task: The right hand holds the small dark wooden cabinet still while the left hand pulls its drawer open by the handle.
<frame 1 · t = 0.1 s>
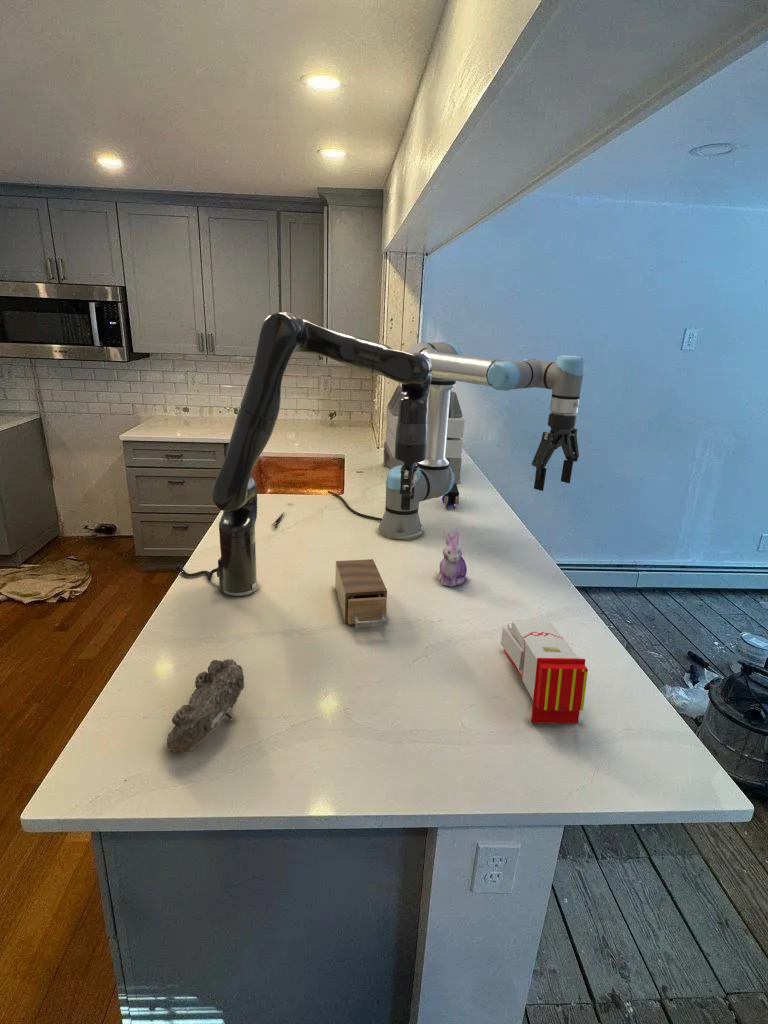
left hand: (407, 504, 141), 29 cm above the counter, tool pointing down, fingers open, 8 cm apart
right hand: (552, 485, 166), 28 cm above the counter, tool pointing down, fingers open, 13 cm apart
feather: (282, 516, 211), on the counter
fossil: (212, 717, 108), on the counter
cabinet: (359, 603, 152), on the counter
figurine character: (449, 504, 232), on the counter
figurine: (452, 580, 167), on the counter
toy: (534, 680, 123), on the counter
drawer: (363, 599, 145), point 4 cm above the counter, slide at 1.3 cm
white slatted crate: (419, 473, 275), on the counter
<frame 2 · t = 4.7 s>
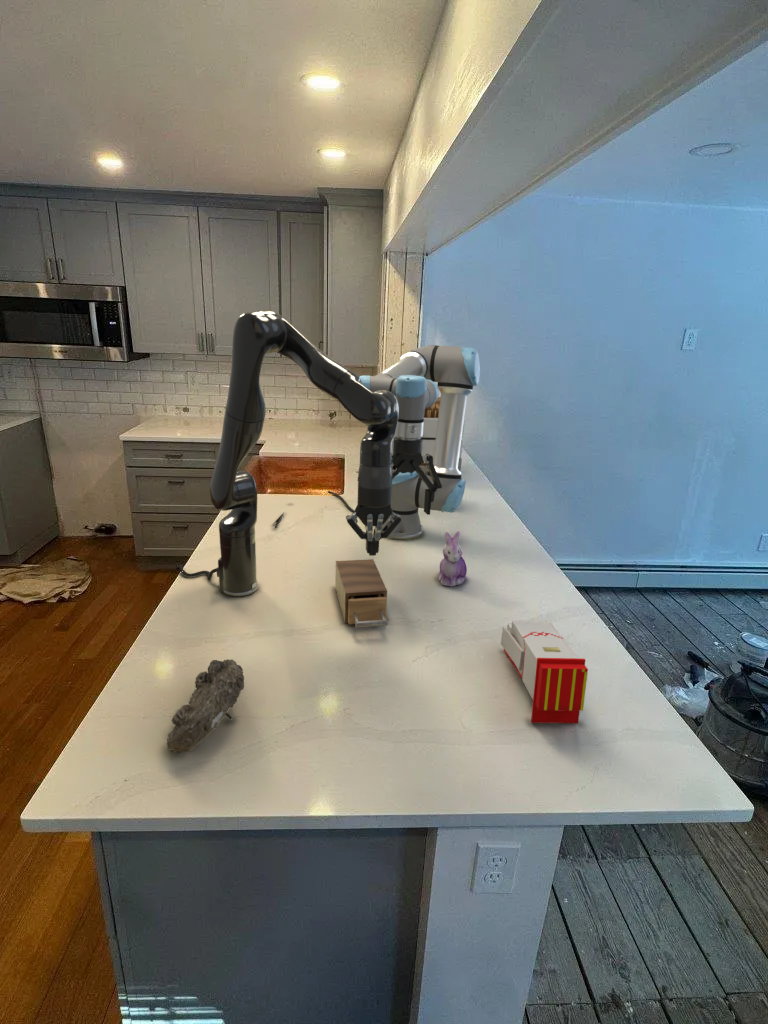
left hand: (372, 554, 131), 21 cm above the counter, tool pointing down, fingers closed
right hand: (403, 514, 153), 22 cm above the counter, tool pointing down, fingers open, 13 cm apart
nothing on the counter moved.
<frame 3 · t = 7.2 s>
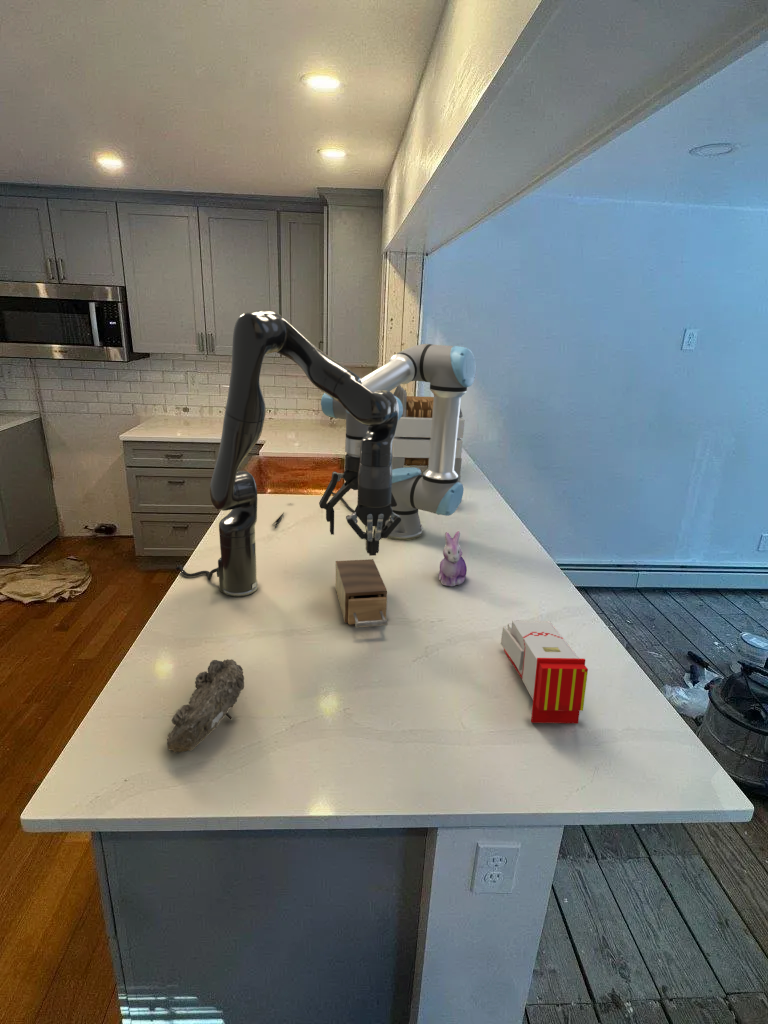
left hand: (372, 554, 131), 21 cm above the counter, tool pointing down, fingers closed
right hand: (357, 532, 151), 18 cm above the counter, tool pointing down, fingers open, 13 cm apart
nothing on the counter moved.
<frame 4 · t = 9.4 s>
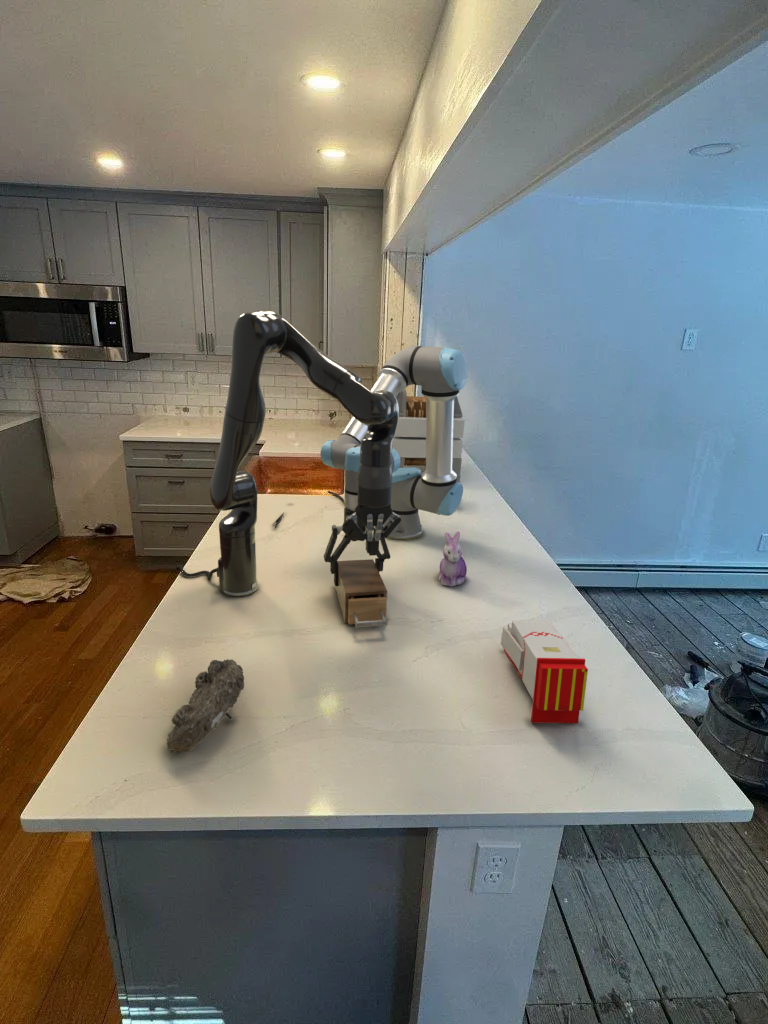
left hand: (372, 554, 131), 21 cm above the counter, tool pointing down, fingers closed
right hand: (356, 582, 156), 3 cm above the counter, tool pointing down, fingers closed on cabinet, 11 cm apart
cabinet: (359, 603, 152), on the counter, touching right hand
everything else where it was.
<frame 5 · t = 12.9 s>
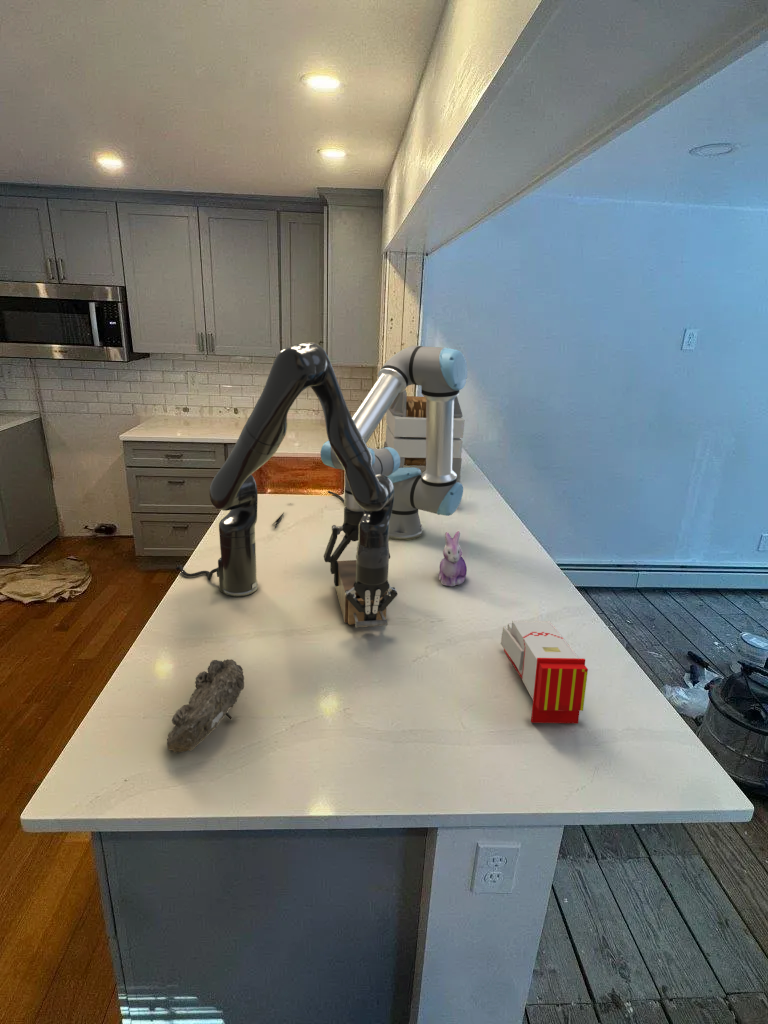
left hand: (369, 625, 137), 2 cm above the counter, tool pointing down, fingers closed
right hand: (356, 582, 156), 3 cm above the counter, tool pointing down, fingers closed on cabinet, 11 cm apart
cabinet: (359, 603, 152), on the counter, touching right hand
drawer: (363, 600, 145), point 4 cm above the counter, slide at 1.3 cm, touching left hand
everything else where it was.
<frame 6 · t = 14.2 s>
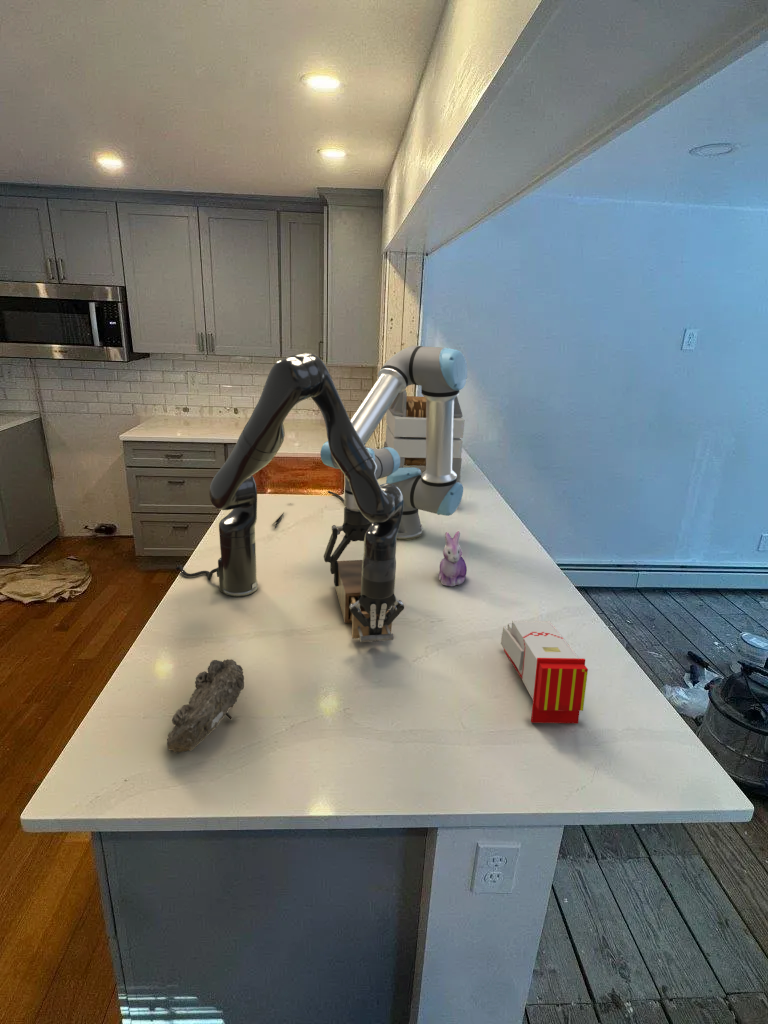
left hand: (374, 639, 132), 2 cm above the counter, tool pointing down, fingers closed
right hand: (356, 582, 156), 3 cm above the counter, tool pointing down, fingers closed on cabinet, 11 cm apart
cabinet: (359, 603, 152), on the counter, touching right hand
drawer: (367, 612, 139), point 4 cm above the counter, slide at 7.5 cm, touching left hand
everything else where it was.
when the right hand's fingers open (3 cm above the counter, at t = 15.9 s): cabinet stays where it is, on the counter.
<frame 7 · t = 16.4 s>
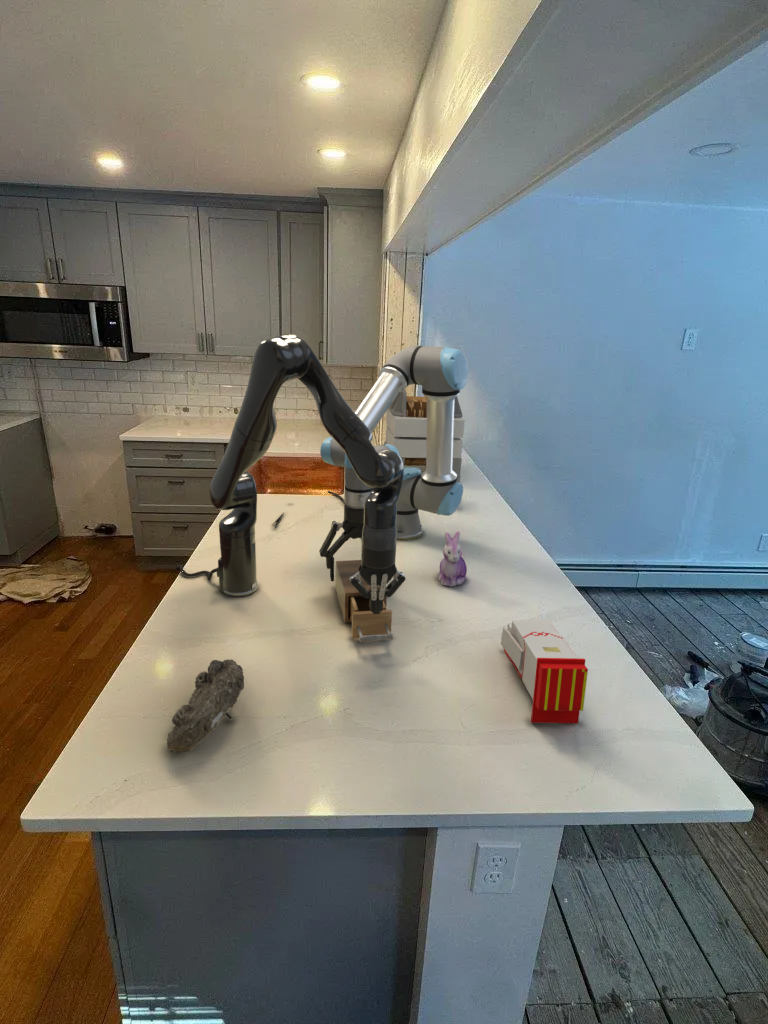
left hand: (376, 612, 129), 9 cm above the counter, tool pointing down, fingers closed
right hand: (356, 577, 155), 5 cm above the counter, tool pointing down, fingers open, 13 cm apart
cabinet: (359, 603, 152), on the counter
drawer: (367, 612, 139), point 4 cm above the counter, slide at 7.5 cm
everything else where it was.
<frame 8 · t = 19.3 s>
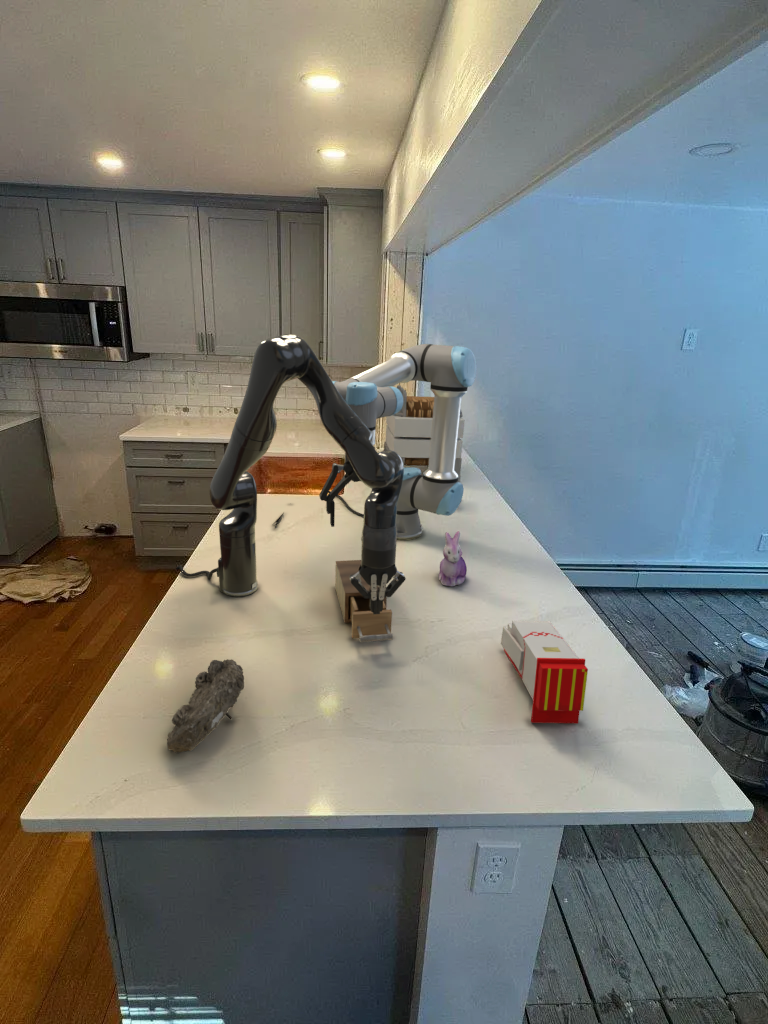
left hand: (376, 612, 129), 9 cm above the counter, tool pointing down, fingers closed
right hand: (357, 524, 150), 21 cm above the counter, tool pointing down, fingers open, 13 cm apart
nothing on the counter moved.
at the end: drawer slide at 7.5 cm; cabinet tilted 0°; cabinet never tilted more than 1° during the clip; cabinet moved 0.1 cm from its start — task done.
